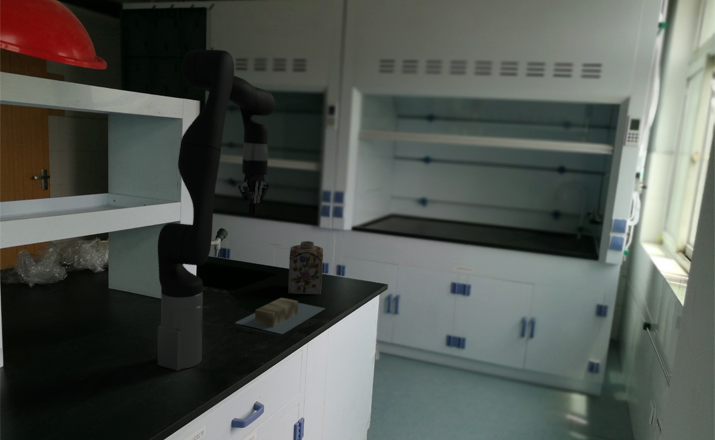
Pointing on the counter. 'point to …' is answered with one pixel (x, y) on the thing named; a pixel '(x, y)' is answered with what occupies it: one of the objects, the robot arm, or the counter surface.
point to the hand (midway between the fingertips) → (253, 214)
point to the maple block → (276, 312)
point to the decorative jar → (305, 268)
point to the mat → (303, 314)
